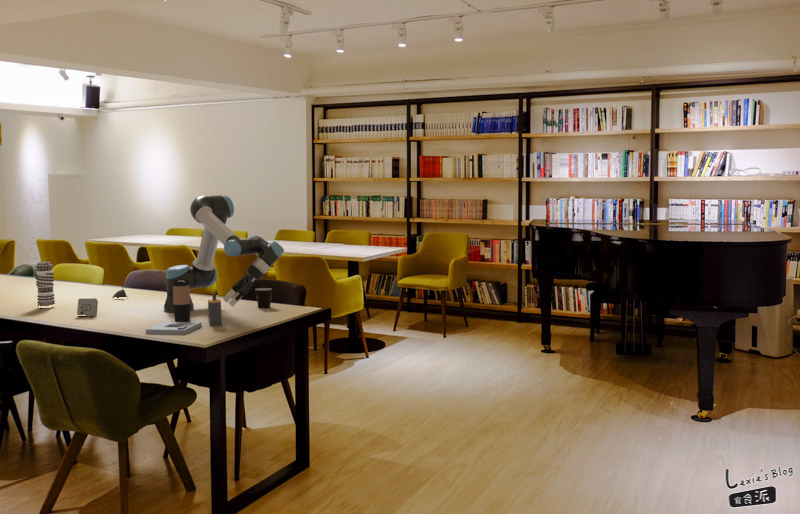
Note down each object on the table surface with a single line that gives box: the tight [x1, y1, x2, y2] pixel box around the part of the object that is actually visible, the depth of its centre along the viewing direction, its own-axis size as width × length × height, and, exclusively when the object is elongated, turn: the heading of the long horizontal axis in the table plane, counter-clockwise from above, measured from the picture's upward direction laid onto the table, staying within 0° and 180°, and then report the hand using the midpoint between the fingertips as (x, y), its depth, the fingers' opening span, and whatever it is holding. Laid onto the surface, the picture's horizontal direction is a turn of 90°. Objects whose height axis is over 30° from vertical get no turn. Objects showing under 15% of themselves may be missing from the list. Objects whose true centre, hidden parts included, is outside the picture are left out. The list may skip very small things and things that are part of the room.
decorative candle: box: [34, 261, 56, 307], centre depth 385 cm, size 9×9×25 cm
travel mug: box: [173, 279, 191, 322], centre depth 341 cm, size 8×8×20 cm
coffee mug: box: [255, 287, 273, 309], centre depth 380 cm, size 12×9×10 cm
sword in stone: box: [112, 278, 128, 298], centre depth 417 cm, size 10×8×12 cm
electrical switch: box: [76, 297, 99, 317], centre depth 359 cm, size 9×5×9 cm, turn 90°
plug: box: [207, 292, 223, 328], centre depth 331 cm, size 5×5×15 cm
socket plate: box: [145, 321, 202, 336], centre depth 321 cm, size 18×18×3 cm
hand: (227, 303), depth 332 cm, fingers open, 13 cm apart
